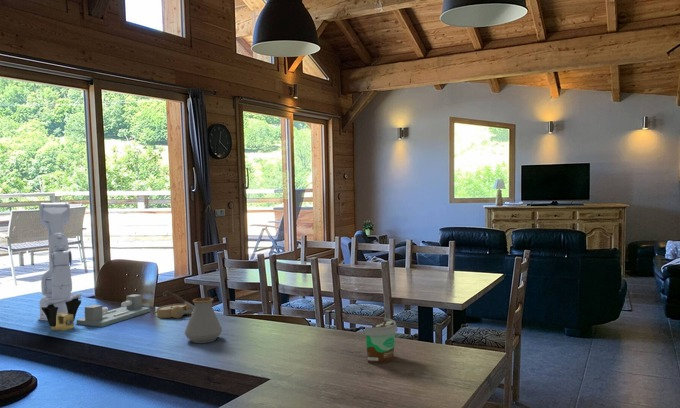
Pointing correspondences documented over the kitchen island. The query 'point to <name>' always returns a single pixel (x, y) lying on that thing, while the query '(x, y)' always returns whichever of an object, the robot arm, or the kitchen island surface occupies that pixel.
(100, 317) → the long grey base plate
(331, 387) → the kitchen island surface
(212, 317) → the coffee pot
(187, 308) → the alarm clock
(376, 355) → the food container
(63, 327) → the block
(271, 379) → the kitchen island surface
